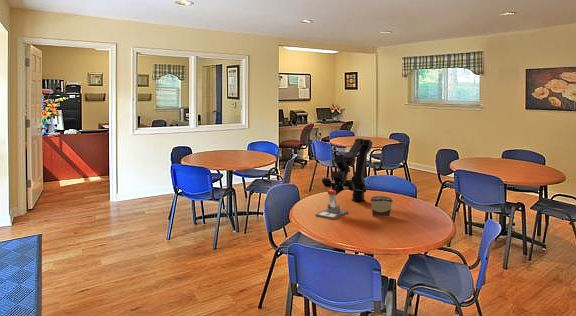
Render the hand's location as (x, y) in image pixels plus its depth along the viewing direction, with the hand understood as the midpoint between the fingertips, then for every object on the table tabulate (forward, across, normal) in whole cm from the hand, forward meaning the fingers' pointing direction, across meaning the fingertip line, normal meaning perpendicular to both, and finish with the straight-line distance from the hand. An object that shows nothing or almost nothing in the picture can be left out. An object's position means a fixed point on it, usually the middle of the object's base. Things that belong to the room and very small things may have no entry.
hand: (333, 196), depth 236 cm
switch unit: (+8, 0, +6) cm, 10 cm away
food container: (-2, +23, +16) cm, 28 cm away
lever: (+4, 0, +5) cm, 7 cm away
